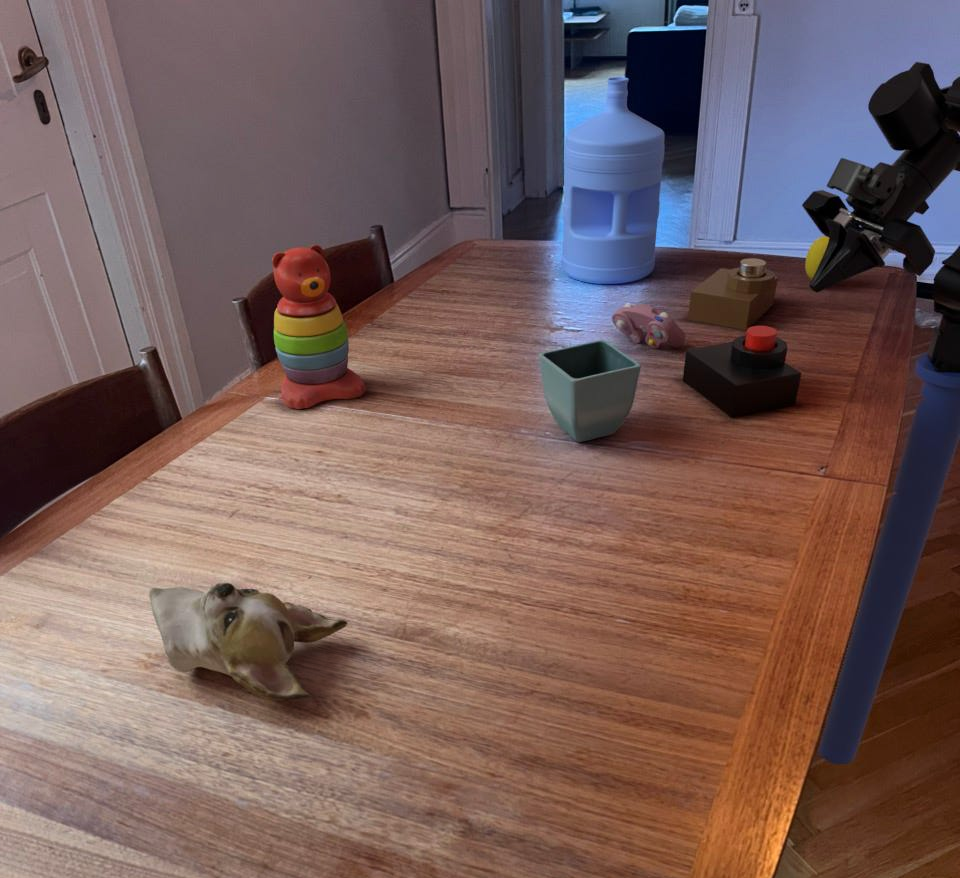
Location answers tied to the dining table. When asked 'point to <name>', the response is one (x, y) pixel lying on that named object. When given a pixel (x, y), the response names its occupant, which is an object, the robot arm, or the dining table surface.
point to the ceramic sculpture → (238, 635)
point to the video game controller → (648, 325)
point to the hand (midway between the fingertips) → (813, 289)
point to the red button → (761, 338)
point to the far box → (732, 299)
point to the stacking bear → (310, 332)
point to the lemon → (815, 255)
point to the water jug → (611, 193)
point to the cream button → (752, 268)
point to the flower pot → (589, 388)
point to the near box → (742, 377)
